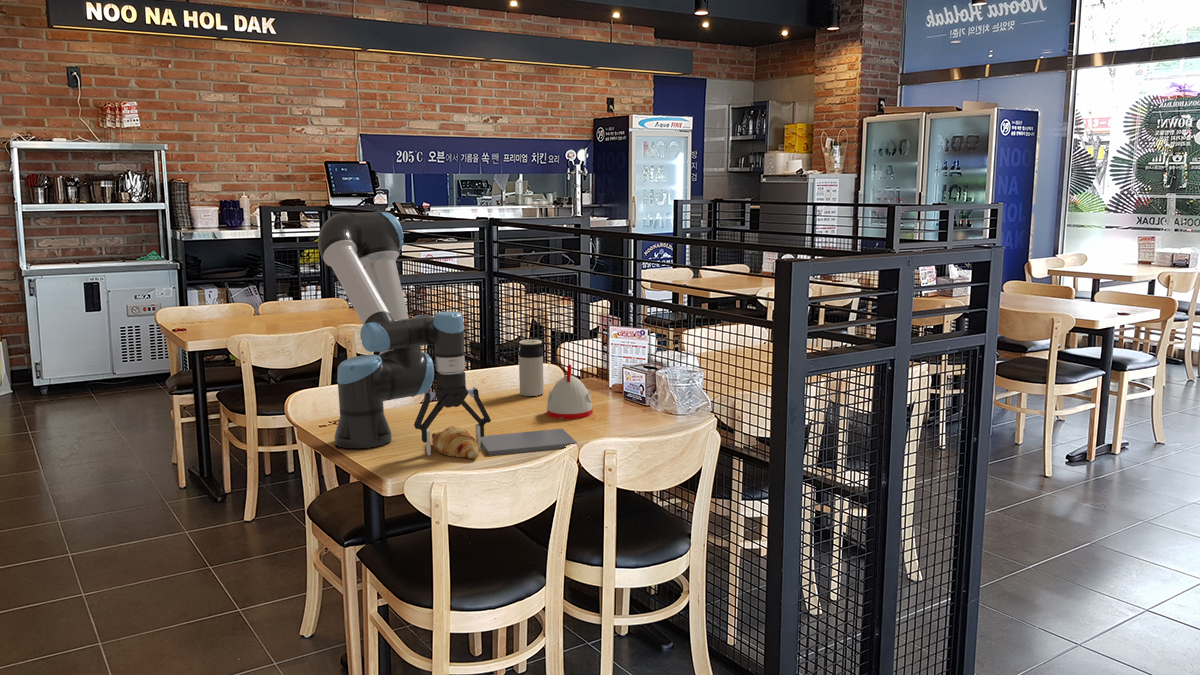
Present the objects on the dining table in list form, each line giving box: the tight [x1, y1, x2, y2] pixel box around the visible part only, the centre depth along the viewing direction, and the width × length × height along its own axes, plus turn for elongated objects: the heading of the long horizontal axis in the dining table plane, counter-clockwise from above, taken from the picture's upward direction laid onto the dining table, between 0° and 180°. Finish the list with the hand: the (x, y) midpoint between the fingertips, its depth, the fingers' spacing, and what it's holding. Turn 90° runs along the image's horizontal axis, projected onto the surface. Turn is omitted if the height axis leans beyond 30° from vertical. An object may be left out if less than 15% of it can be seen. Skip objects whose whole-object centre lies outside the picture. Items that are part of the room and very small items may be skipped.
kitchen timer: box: [546, 364, 594, 420], centre depth 278 cm, size 14×14×15 cm
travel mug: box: [518, 339, 545, 397], centre depth 304 cm, size 8×8×18 cm
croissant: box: [431, 425, 480, 460], centre depth 240 cm, size 21×10×8 cm, turn 42°
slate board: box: [480, 428, 578, 457], centre depth 247 cm, size 24×15×2 cm, turn 108°
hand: (453, 451), depth 240 cm, fingers open, 12 cm apart
